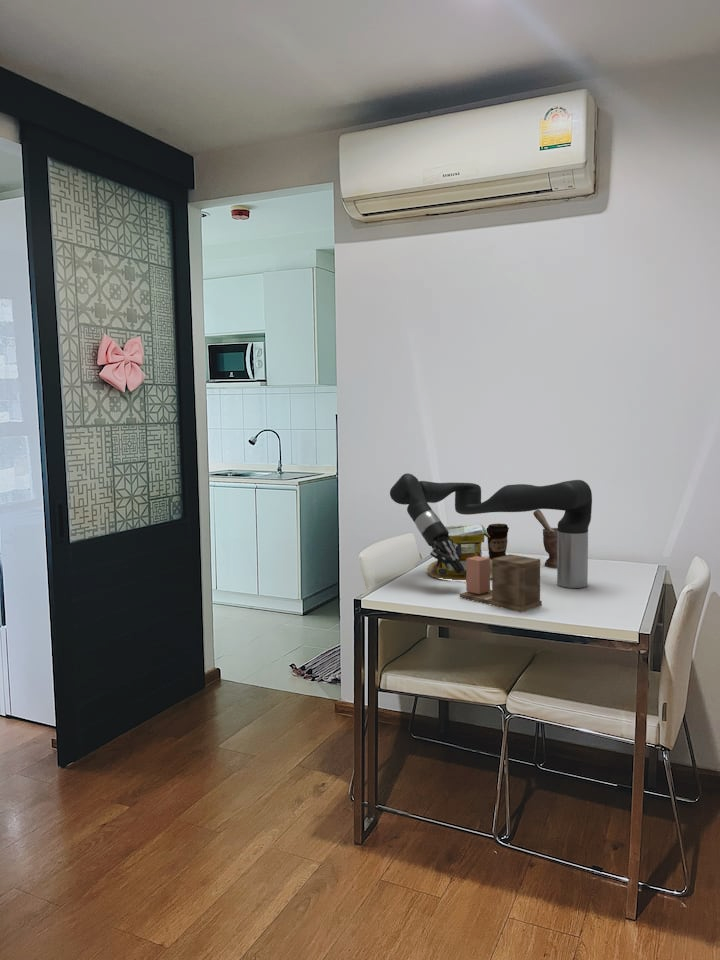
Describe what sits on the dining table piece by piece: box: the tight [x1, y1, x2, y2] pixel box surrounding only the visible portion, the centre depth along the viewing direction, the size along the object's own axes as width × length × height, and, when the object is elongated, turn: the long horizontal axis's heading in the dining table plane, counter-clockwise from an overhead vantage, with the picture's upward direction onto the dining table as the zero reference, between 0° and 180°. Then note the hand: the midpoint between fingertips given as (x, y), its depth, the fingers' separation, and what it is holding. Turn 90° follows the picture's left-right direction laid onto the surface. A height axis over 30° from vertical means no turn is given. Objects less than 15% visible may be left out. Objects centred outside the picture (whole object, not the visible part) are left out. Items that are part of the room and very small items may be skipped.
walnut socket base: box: [459, 553, 543, 613], centre depth 212 cm, size 22×10×13 cm, turn 42°
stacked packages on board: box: [426, 523, 492, 580], centre depth 248 cm, size 25×25×17 cm
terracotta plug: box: [465, 556, 491, 594], centre depth 218 cm, size 5×5×10 cm
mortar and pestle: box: [532, 509, 558, 568], centre depth 257 cm, size 12×9×20 cm
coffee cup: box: [485, 523, 510, 560], centre depth 270 cm, size 9×8×13 cm
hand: (461, 572), depth 223 cm, fingers closed
